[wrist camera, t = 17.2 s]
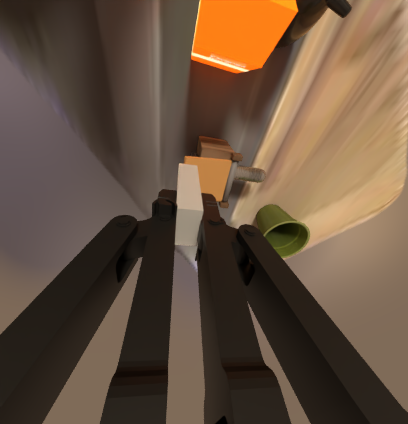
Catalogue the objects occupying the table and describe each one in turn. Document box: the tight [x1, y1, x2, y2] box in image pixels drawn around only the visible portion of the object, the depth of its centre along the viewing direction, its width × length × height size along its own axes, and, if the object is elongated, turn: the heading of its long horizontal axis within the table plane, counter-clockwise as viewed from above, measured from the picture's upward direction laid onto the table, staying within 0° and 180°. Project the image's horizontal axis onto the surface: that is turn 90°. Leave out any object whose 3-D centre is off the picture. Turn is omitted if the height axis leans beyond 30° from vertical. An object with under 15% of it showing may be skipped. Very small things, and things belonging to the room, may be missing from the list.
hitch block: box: [196, 136, 243, 208], centre depth 39 cm, size 10×7×12 cm, turn 170°
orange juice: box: [191, 0, 298, 73], centre depth 25 cm, size 8×9×20 cm
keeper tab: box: [184, 156, 238, 202], centre depth 34 cm, size 8×10×1 cm
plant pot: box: [257, 205, 310, 258], centre depth 50 cm, size 12×12×11 cm
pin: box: [190, 153, 266, 183], centre depth 40 cm, size 5×17×5 cm, turn 80°
